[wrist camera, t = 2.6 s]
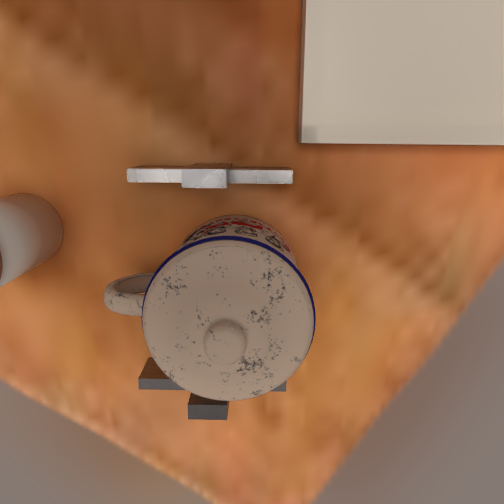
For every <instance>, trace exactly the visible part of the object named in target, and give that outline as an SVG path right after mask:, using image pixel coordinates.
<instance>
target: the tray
mask: <svg viewBox="0 0 504 504" xmlns="http://www.w3.org/2000/svg"><path fill="white" fill-rule="evenodd" d="M298 143H344V144H441V145H504V0H303V1H302V31H301V61H300V91H299V120H298Z"/></svg>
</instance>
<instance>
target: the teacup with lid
mask: <svg viewBox="0 0 504 504" xmlns="http://www.w3.org/2000/svg"><path fill="white" fill-rule="evenodd" d="M144 292H145V294H137V293H144ZM104 303H105V305H106V307H107V308H108V309H110V310H111V311H113V312H116V313H119V314H123V315H130V316H142V327H143V333H144V337H145V341H146V344H147V346H148V349H149V351H150V353H151V355H152V357H153V359H154V360H155V362H156V364H157V365H158V366H159V367H160V369H161V370H162V371H163V372H164V373H165V374H166V375H167V376H168V377H169V378H170V379H171V380H172V381H173V382H175V383H176V384H178V385H179V386H180V387H182V388H184V389H185V390H187V391H189V392H191V393H194V394H196V395H199V396H202V397H205V398H209V399H214V400H222V401H236V400H244V399H250V398H253V397H257V396H260V395H263V394H265V393H267V392H269V391H271V390H273V389H275V388H276V387H278V386H279V385H281V384H282V383H284V382H285V381H286V380H287V379H288V378H289V377H290V376H291V375H292V374H293V373H294V372H295V371H296V370H297V369H298V367H299V366H300V365H301V363H302V361H303V360H304V358H305V356H306V355H307V353H308V351H309V348H310V346H311V343H312V340H313V336H314V330H315V307H314V301H313V298H312V294H311V292H310V289H309V287H308V284H307V283H306V281H305V279H304V277H303V276H302V274H301V273H300V271H299V269H298V266H297V263H296V260H295V257H294V254H293V252H292V250H291V248H290V246H289V244H288V243H287V241H286V240H285V239H284V237H283V236H282V235H281V234H280V233H279V232H278V231H277V230H275V229H274V228H273V227H271V226H270V225H268V224H267V223H265V222H263V221H261V220H258V219H256V218H252V217H248V216H242V215H228V216H222V217H218V218H214V219H212V220H209V221H207V222H205V223H203V224H202V225H200V226H199V227H197V228H196V229H195V230H193V231H192V232H191V233H190V234H189V235H188V237H187V238H186V239H185V240H184V242H183V243H182V244H181V246H180V247H179V249H178V250H177V251H176V252H175V253H173V254H172V255H171V256H170V257H168V258H167V259H166V260H165V261H164V262H163V263H162V264H161V266H160V267H159V268H158V269H157V271H156V272H155V273H143V274H135V275H130V276H126V277H123V278H120V279H117V280H115V281H113V282H112V283H110V284H109V285H108V286H107V287H106V288H105V291H104Z"/></svg>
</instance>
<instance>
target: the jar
mask: <svg viewBox="0 0 504 504" xmlns="http://www.w3.org/2000/svg"><path fill="white" fill-rule="evenodd" d="M62 240H63V226H62V222H61V219H60V217H59V215H58V213H57V212H56V210H55V209H54V208H53V207H52V206H51V205H50V204H49V203H48V202H47V201H45V200H44V199H42V198H40V197H38V196H36V195H33V194H28V193H18V194H13V195H8V196H4V197H0V287H1V286H3V285H5V284H7V283H8V282H10V281H12V280H14V279H15V278H17V277H19V276H21V275H22V274H24V273H26V272H28V271H29V270H31V269H33V268H35V267H36V266H38V265H40V264H42V263H43V262H45V261H47V260H49V259H50V258H52V257H53V256H54V255H55V254H56V253H57V251H58V250H59V248H60V246H61V244H62Z"/></svg>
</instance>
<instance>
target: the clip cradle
mask: <svg viewBox="0 0 504 504" xmlns="http://www.w3.org/2000/svg"><path fill="white" fill-rule="evenodd" d="M127 182H167V183H182V188H227V186H228V185H229V183H257V184H292V182H293V170H292V169H291V168H285V167H232V164H198V163H196V164H193V165H191V166H137V167H132V168H127ZM138 380H139V389H156V390H185V389H184V388H182V387H180V386H179V385H178V384H176V383H175V382H173V381H172V380H171V379H170V378H169V377H168V376H167V375H166V374H165V373H164V372H163V371H162V370H161V369H160V367H159V366H158V365H157V364H156V362H155V360H154V359H153V358H148V360H147V362H146V364H145V366H144V368H143V370H142V372H141V374H140V376H139V378H138ZM271 391H286V381H285V382H284V383H282V384H281V385H279V386H278V387H276V388H275V389H273V390H271ZM228 407H229V401H222V400H214V399H209V398H205V397H202V396H199V395H196V394H194V393H191V395H190V398H189V402H188V419H206V420H227V416H228Z"/></svg>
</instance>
